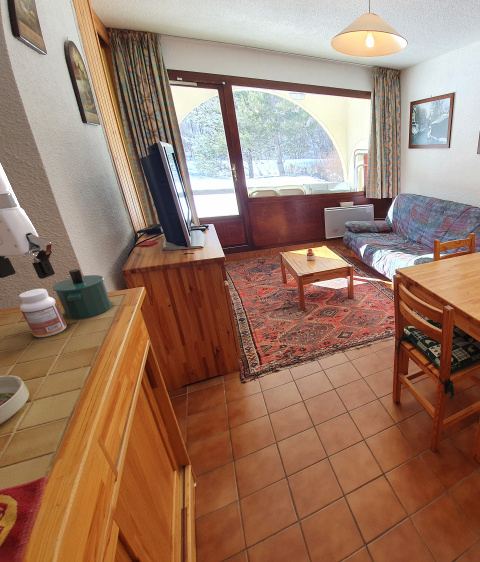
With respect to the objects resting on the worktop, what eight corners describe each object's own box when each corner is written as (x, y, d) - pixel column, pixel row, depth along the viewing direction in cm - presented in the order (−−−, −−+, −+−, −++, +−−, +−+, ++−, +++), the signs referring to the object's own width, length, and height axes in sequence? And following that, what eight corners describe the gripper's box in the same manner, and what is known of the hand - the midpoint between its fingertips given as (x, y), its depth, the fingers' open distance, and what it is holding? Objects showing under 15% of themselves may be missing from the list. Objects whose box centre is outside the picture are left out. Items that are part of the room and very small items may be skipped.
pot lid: (48, 297, 80) (40, 280, 78) (60, 282, 88) (54, 267, 86) (100, 289, 85) (94, 273, 83) (107, 276, 93) (102, 261, 91)
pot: (59, 326, 81) (46, 298, 78) (74, 303, 93) (63, 277, 90) (106, 317, 86) (96, 290, 82) (115, 296, 98) (106, 272, 94)
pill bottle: (44, 326, 81) (26, 288, 77) (72, 323, 83) (56, 286, 78) (27, 339, 76) (6, 299, 71) (57, 336, 77) (39, 296, 73)
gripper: (-71, 205, 63) (-27, 282, 70) (11, 206, 63) (47, 283, 70) (-26, 199, 70) (10, 269, 77) (48, 200, 70) (77, 271, 76)
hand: (27, 276), depth 73 cm, fingers open, 9 cm apart
